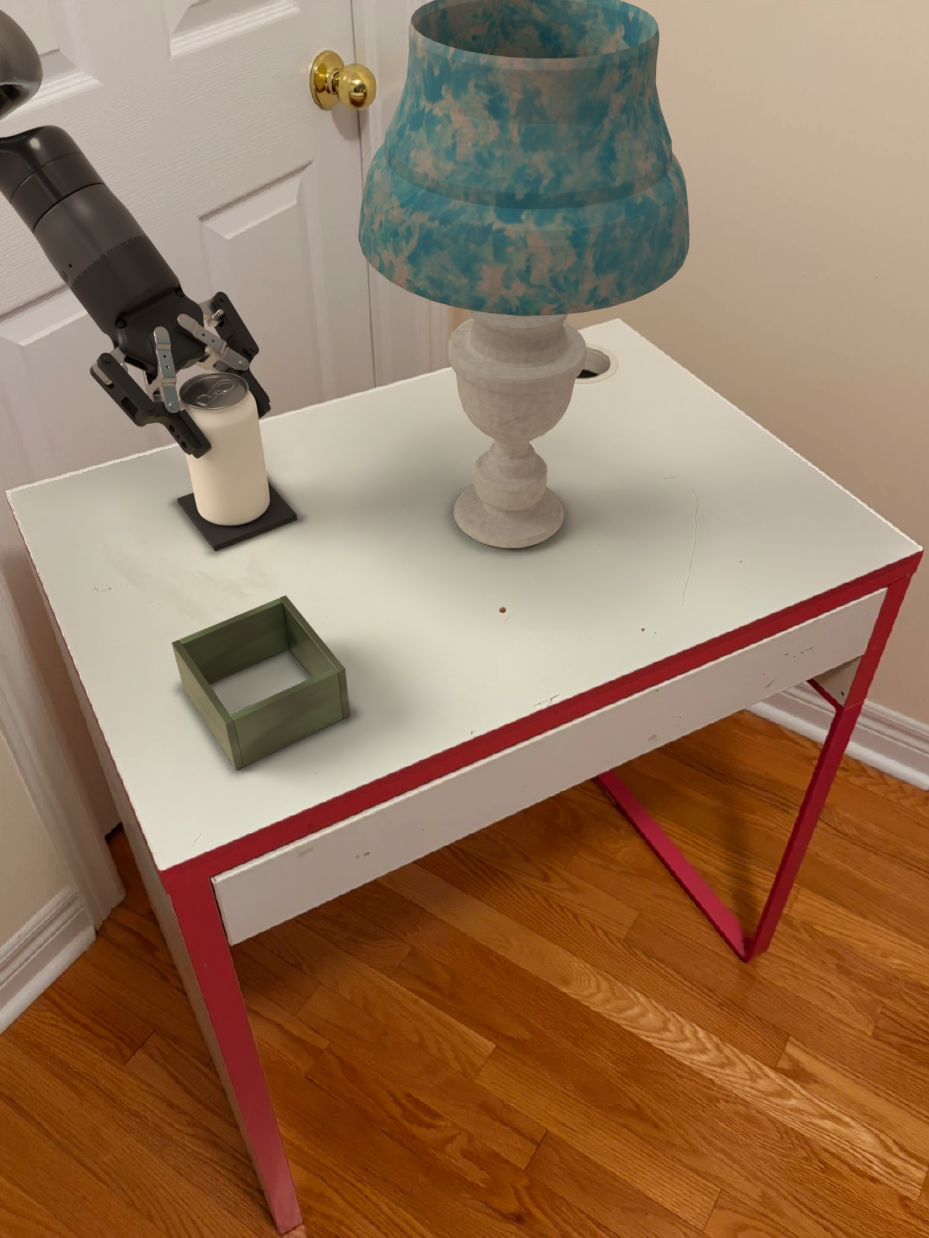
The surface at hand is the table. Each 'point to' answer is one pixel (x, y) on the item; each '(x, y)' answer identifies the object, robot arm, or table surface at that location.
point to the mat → (229, 535)
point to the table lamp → (525, 214)
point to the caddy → (280, 713)
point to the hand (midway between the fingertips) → (235, 433)
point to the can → (226, 449)
